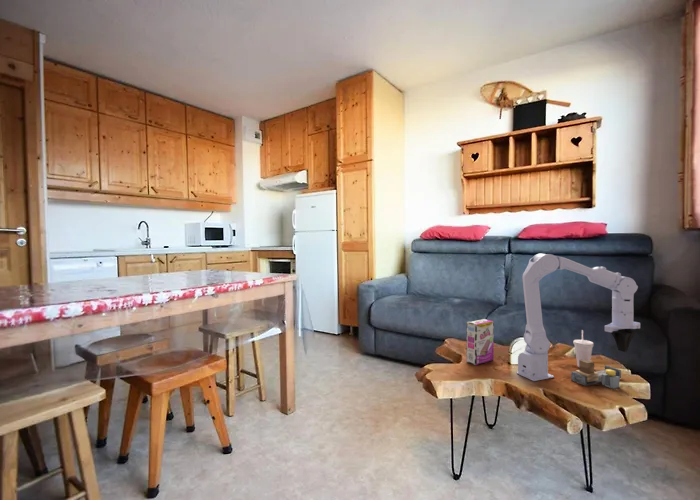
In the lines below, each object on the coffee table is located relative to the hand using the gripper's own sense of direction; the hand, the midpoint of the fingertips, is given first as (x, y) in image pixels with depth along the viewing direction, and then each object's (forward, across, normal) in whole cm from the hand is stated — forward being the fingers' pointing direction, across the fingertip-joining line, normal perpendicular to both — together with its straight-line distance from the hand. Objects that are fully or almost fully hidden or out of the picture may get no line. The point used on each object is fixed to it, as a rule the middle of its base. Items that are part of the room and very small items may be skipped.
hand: (622, 350), depth 116 cm
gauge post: (+10, -8, -2) cm, 13 cm away
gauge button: (+10, -8, -1) cm, 13 cm away
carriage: (+10, -12, +4) cm, 16 cm away
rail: (+10, -7, +4) cm, 13 cm away
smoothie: (+11, 0, +14) cm, 18 cm away
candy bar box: (+11, -32, +33) cm, 47 cm away
